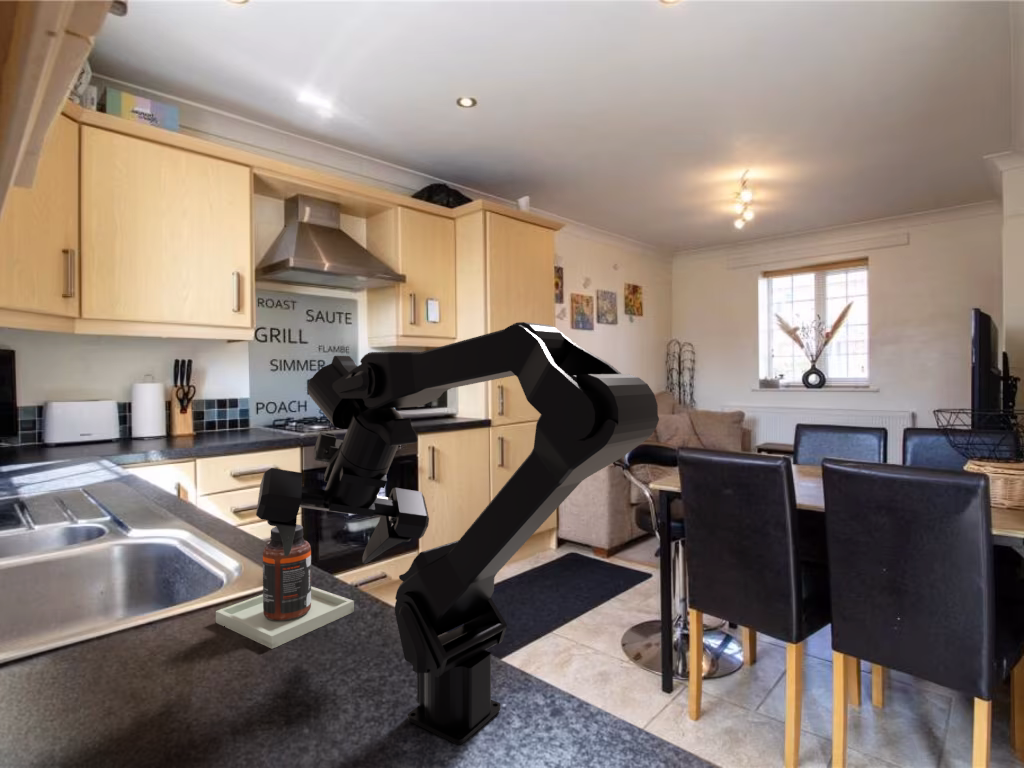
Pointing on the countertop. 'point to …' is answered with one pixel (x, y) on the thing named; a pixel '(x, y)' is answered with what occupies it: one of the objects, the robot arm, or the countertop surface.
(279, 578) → the supplement bottle
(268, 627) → the tray
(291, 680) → the countertop surface
